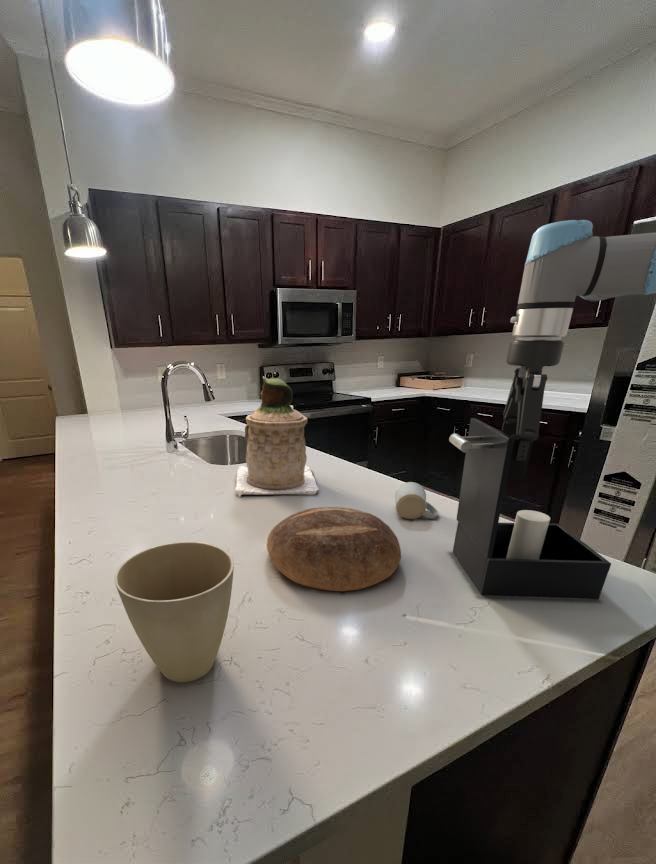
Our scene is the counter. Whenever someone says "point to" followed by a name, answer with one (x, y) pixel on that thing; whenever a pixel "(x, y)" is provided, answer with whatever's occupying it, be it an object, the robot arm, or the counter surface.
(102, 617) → the counter surface
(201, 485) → the counter surface
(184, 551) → the plant pot
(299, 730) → the counter surface
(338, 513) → the bread
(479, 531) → the bin lid
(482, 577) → the bin
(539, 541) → the canister
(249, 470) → the cookie jar
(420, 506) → the ceramic mug
